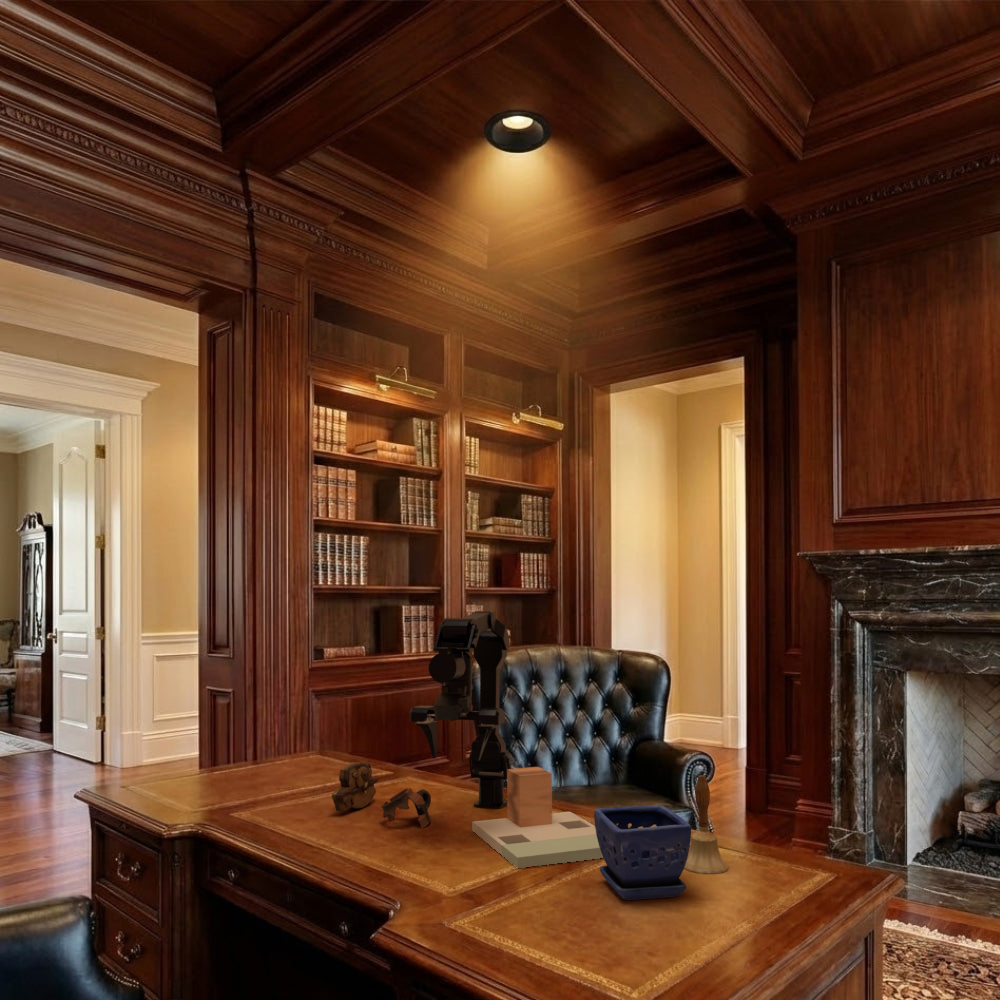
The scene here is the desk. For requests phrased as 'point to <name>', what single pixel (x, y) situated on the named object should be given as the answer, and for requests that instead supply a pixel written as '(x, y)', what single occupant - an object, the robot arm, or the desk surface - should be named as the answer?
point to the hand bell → (704, 837)
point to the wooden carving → (354, 787)
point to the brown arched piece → (402, 803)
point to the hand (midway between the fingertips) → (456, 759)
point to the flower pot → (643, 850)
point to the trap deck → (531, 830)
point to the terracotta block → (529, 796)
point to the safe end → (552, 851)
